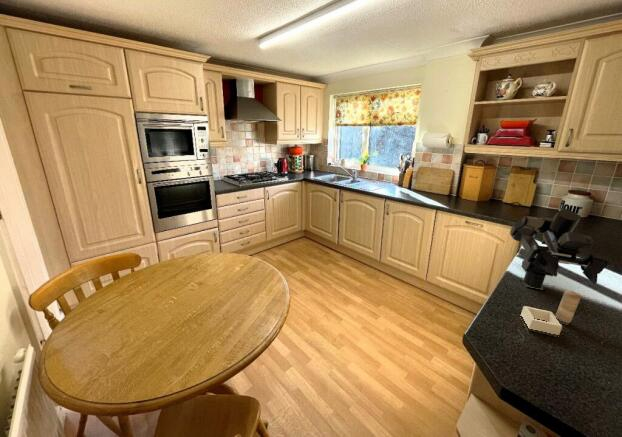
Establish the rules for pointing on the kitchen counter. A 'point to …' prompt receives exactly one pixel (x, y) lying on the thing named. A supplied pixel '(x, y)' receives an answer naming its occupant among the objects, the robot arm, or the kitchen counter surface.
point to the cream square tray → (549, 326)
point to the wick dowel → (568, 306)
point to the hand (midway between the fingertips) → (575, 279)
